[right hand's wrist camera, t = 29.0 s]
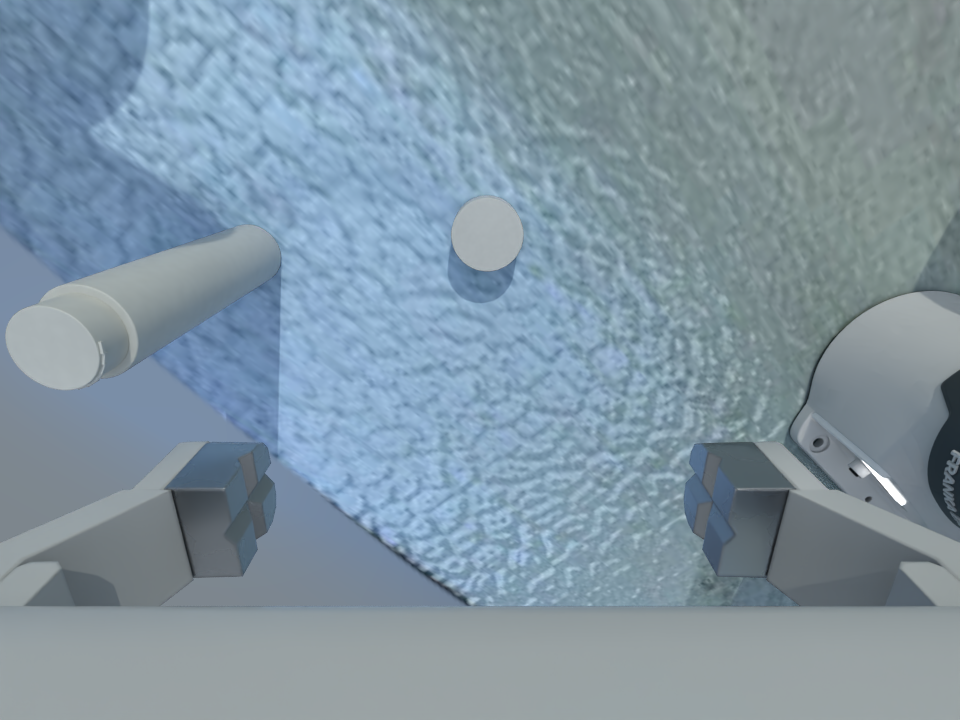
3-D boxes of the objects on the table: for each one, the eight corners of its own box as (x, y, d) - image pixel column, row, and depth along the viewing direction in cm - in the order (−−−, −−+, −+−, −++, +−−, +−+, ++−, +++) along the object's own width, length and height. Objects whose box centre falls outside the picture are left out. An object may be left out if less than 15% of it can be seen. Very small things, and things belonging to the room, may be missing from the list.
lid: (533, 215, 38) (536, 219, 36) (501, 276, 40) (502, 283, 38) (471, 182, 38) (470, 184, 36) (441, 246, 39) (439, 252, 37)
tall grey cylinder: (228, 282, 40) (15, 398, 22) (217, 224, 39) (-22, 296, 20) (285, 282, 40) (120, 398, 22) (276, 224, 39) (91, 296, 20)
